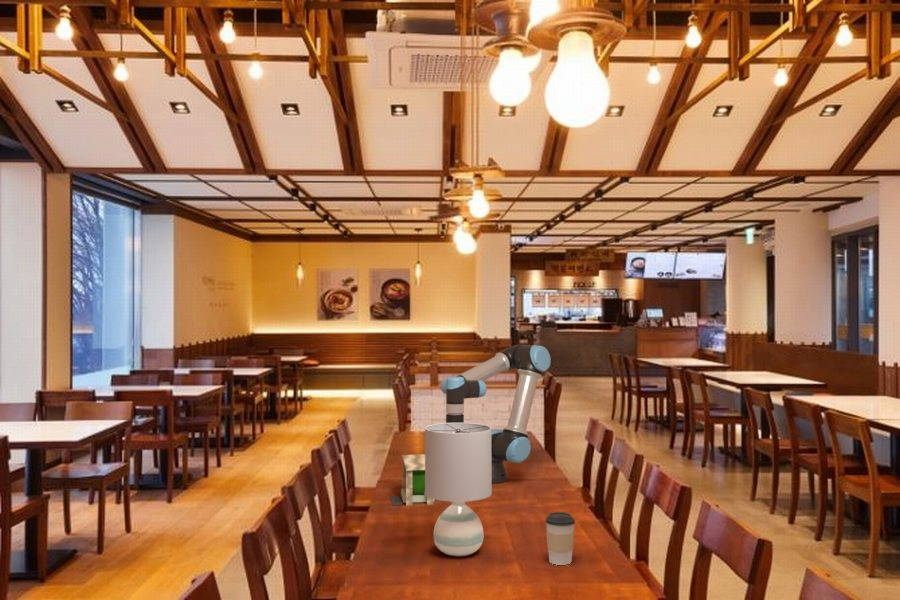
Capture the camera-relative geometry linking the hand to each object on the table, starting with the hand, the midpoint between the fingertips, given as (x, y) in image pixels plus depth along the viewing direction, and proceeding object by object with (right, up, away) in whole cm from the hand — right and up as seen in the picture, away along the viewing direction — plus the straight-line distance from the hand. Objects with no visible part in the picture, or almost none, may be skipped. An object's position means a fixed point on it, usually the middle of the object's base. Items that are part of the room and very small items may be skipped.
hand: (454, 469), depth 306 cm
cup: (-15, -12, -2) cm, 20 cm away
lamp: (+1, -11, -69) cm, 70 cm away
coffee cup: (+33, -11, -79) cm, 86 cm away
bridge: (-15, -12, -2) cm, 19 cm away
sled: (-6, -11, -1) cm, 13 cm away
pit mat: (-24, -12, -5) cm, 27 cm away
